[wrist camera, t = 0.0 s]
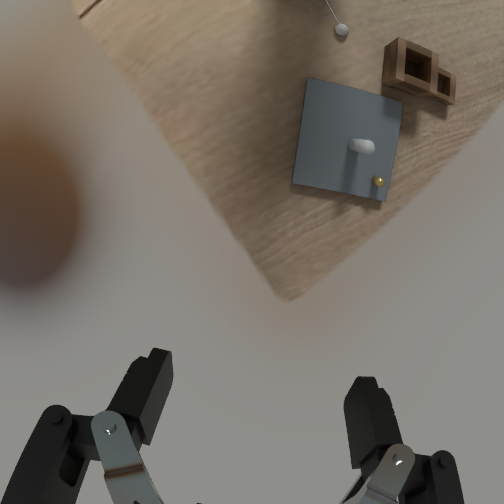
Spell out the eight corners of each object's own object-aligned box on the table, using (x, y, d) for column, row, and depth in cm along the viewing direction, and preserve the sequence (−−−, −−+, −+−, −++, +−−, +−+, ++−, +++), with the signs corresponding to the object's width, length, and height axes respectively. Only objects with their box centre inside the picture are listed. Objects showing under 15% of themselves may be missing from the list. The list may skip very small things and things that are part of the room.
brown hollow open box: (384, 46, 27) (398, 37, 23) (449, 73, 27) (467, 69, 22) (381, 84, 30) (395, 78, 25) (446, 109, 29) (465, 108, 25)
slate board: (306, 79, 31) (313, 67, 24) (399, 103, 30) (423, 99, 24) (291, 181, 36) (295, 192, 30) (382, 199, 36) (402, 214, 29)
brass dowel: (372, 174, 34) (377, 177, 32) (380, 176, 34) (385, 179, 32) (370, 183, 34) (375, 186, 32) (378, 185, 34) (383, 188, 32)
